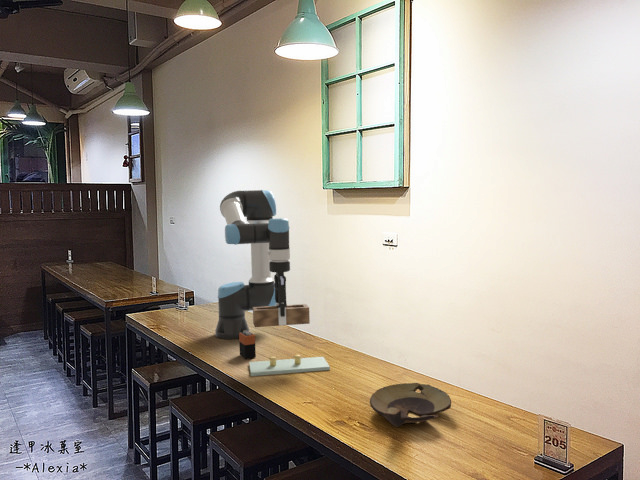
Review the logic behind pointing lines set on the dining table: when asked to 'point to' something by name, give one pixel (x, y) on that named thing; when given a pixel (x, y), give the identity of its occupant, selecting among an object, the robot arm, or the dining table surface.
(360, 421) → the dining table surface
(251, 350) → the battery
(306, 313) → the divided compartment tray
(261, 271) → the robot arm
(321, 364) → the board
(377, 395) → the broken dish
